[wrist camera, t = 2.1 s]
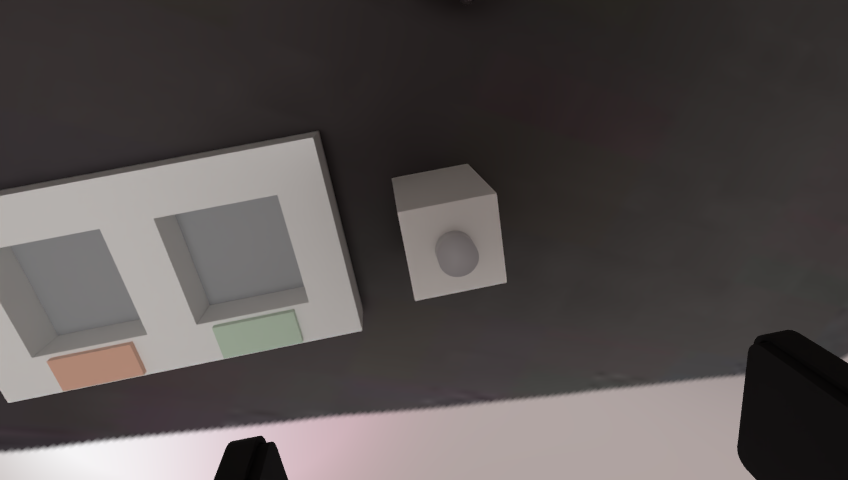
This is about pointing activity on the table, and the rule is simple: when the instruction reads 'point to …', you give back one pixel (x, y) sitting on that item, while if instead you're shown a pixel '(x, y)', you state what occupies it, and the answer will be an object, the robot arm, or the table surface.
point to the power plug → (466, 2)
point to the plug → (449, 231)
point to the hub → (171, 266)
